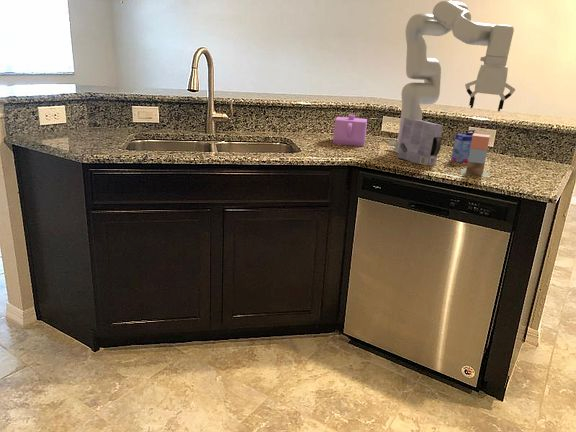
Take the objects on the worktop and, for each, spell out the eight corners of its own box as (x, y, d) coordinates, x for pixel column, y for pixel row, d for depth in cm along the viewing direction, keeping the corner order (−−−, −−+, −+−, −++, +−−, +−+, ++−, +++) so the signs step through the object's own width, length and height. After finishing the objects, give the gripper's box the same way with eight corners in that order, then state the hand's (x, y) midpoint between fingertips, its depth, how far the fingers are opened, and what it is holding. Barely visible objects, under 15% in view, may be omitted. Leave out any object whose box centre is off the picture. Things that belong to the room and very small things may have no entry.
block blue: (467, 161, 181) (470, 148, 179) (469, 158, 186) (471, 146, 184) (484, 163, 178) (487, 150, 177) (485, 160, 184) (487, 148, 182)
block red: (470, 148, 179) (472, 135, 178) (471, 146, 184) (473, 133, 183) (486, 150, 177) (489, 137, 175) (487, 148, 182) (490, 135, 180)
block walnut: (465, 174, 183) (467, 161, 181) (466, 170, 188) (469, 158, 186) (481, 176, 180) (484, 163, 179) (482, 173, 185) (485, 160, 184)
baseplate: (459, 175, 184) (460, 173, 183) (461, 171, 190) (461, 169, 189) (487, 179, 180) (487, 177, 180) (488, 175, 186) (488, 173, 186)
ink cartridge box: (458, 164, 202) (464, 130, 197) (449, 161, 207) (455, 128, 202) (476, 163, 206) (482, 130, 201) (467, 160, 211) (473, 128, 206)
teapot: (365, 139, 249) (368, 112, 244) (363, 148, 225) (366, 118, 221) (336, 137, 251) (339, 110, 246) (331, 145, 228) (334, 116, 223)
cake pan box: (438, 167, 195) (445, 124, 190) (429, 168, 193) (436, 124, 187) (404, 157, 211) (410, 117, 205) (396, 158, 208) (402, 117, 202)
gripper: (469, 59, 170) (460, 107, 176) (521, 64, 164) (509, 113, 170) (471, 59, 176) (461, 105, 183) (521, 63, 170) (509, 111, 176)
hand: (485, 109), depth 176 cm, fingers open, 9 cm apart
